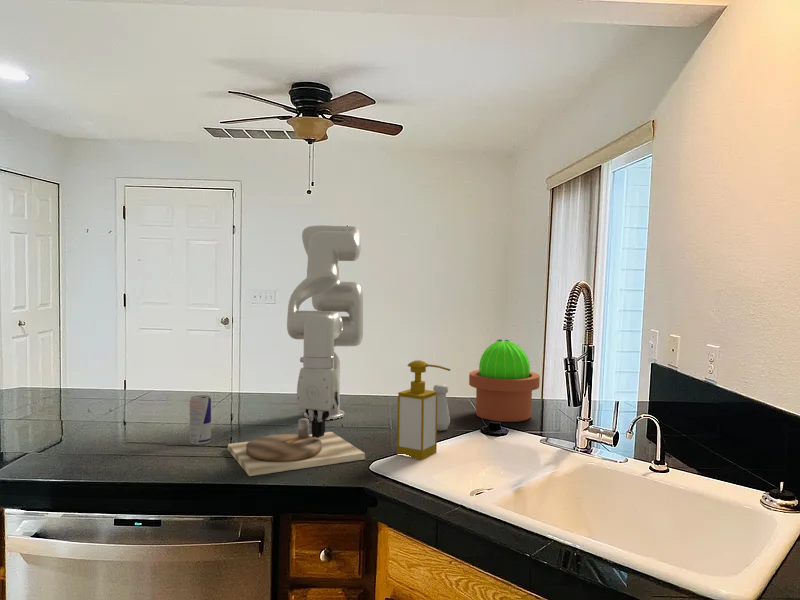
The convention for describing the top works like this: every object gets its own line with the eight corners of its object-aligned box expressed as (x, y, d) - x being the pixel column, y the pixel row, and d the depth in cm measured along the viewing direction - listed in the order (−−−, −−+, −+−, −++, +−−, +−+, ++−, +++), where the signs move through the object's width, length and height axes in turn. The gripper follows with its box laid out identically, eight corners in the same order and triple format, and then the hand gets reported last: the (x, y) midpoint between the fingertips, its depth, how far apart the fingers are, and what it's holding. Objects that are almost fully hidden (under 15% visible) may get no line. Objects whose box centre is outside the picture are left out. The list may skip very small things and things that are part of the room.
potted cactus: (525, 428, 177) (527, 344, 176) (458, 418, 188) (459, 339, 187) (546, 413, 196) (548, 337, 195) (484, 405, 207) (485, 333, 206)
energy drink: (215, 440, 159) (215, 396, 159) (202, 446, 154) (202, 399, 154) (198, 438, 161) (198, 394, 160) (185, 443, 156) (185, 398, 155)
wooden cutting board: (227, 449, 151) (227, 441, 151) (331, 437, 164) (331, 429, 164) (249, 476, 132) (249, 466, 131) (364, 459, 145) (364, 450, 145)
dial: (286, 465, 133) (286, 439, 133) (230, 452, 143) (230, 427, 142) (336, 446, 148) (336, 423, 148) (282, 435, 158) (282, 413, 158)
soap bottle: (442, 464, 142) (443, 365, 141) (397, 455, 149) (398, 360, 148) (455, 456, 148) (457, 361, 147) (412, 448, 155) (413, 357, 154)
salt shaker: (448, 431, 171) (449, 386, 171) (428, 430, 172) (429, 385, 172) (451, 426, 177) (451, 383, 176) (431, 425, 178) (432, 382, 178)
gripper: (284, 362, 148) (284, 436, 149) (336, 367, 142) (336, 443, 142) (302, 359, 155) (301, 429, 156) (352, 363, 149) (351, 436, 149)
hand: (318, 436), depth 149 cm, fingers closed
